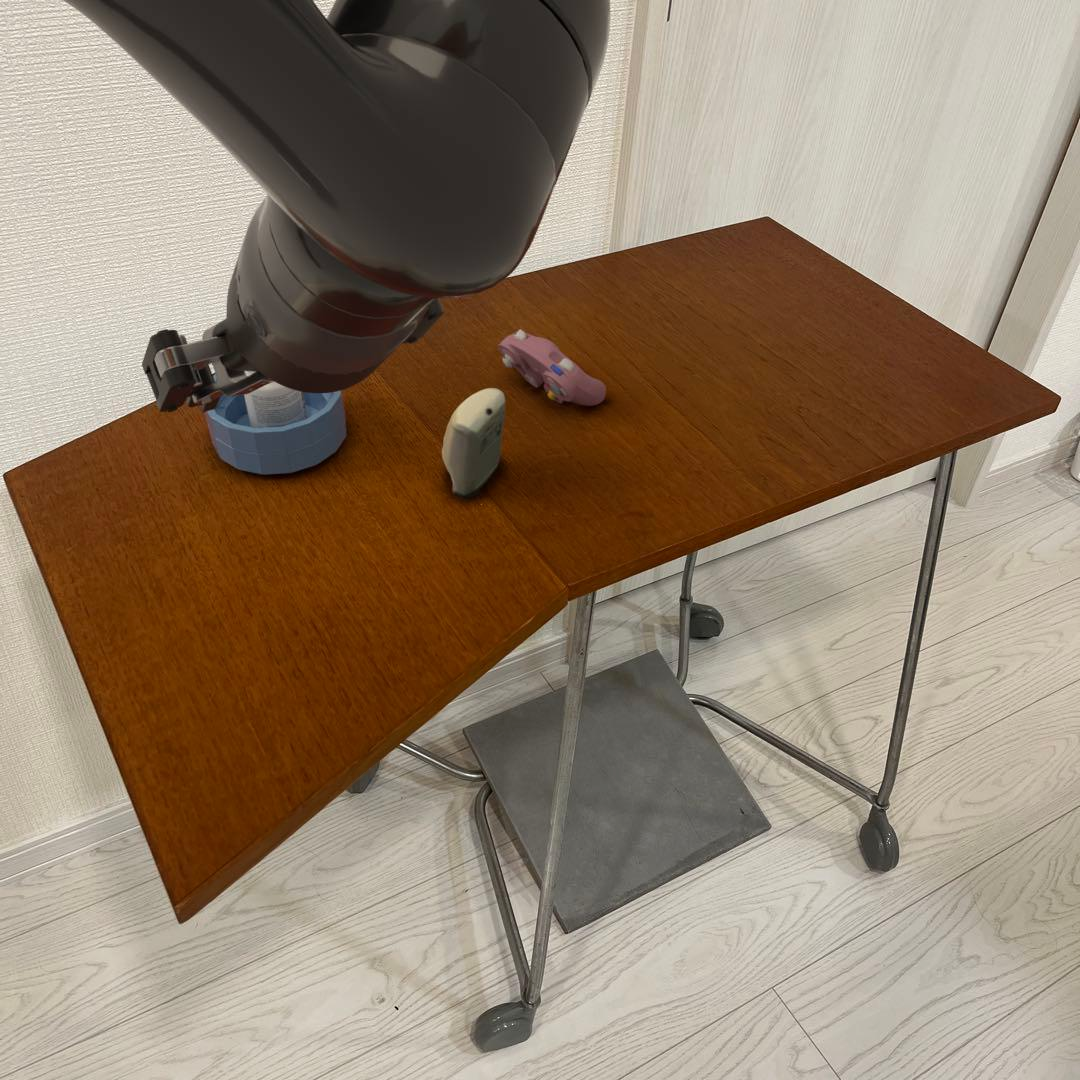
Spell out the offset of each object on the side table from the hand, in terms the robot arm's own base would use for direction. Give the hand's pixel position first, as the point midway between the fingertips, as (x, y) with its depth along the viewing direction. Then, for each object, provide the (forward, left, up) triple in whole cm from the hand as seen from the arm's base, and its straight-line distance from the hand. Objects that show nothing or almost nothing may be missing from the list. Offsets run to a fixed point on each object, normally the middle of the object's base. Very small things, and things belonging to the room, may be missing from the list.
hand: (275, 372), depth 57 cm
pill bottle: (+5, +22, -21) cm, 31 cm away
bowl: (+5, +22, -22) cm, 31 cm away
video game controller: (+29, +17, -22) cm, 40 cm away
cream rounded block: (+17, +9, -22) cm, 29 cm away
